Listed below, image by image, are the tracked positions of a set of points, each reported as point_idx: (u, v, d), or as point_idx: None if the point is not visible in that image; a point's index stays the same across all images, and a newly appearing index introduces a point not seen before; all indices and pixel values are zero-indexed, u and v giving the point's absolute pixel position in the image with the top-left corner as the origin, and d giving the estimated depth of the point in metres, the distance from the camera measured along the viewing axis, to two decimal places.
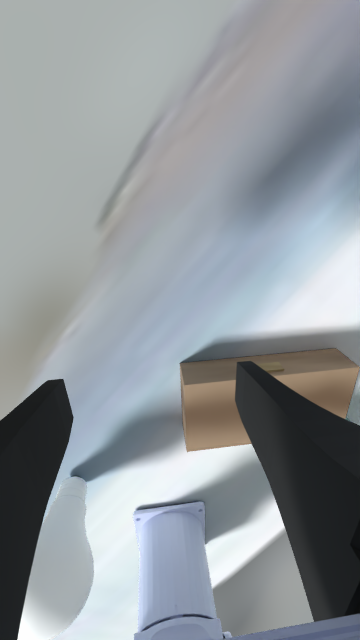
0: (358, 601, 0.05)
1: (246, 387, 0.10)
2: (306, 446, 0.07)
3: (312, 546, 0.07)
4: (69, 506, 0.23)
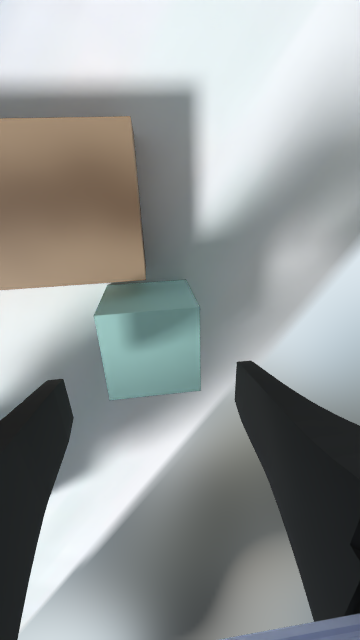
0: (357, 601, 0.05)
1: (246, 387, 0.10)
2: (306, 446, 0.07)
3: (312, 545, 0.07)
4: None
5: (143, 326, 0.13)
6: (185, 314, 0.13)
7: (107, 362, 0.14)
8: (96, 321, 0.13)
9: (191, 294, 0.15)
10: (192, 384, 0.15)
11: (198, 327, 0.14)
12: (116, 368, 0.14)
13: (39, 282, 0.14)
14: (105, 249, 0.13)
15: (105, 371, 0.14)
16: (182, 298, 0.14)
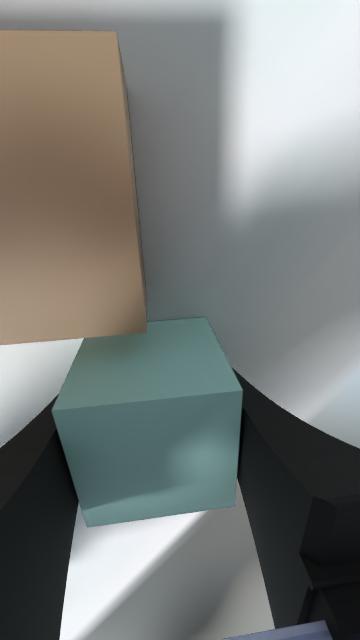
0: (309, 610, 0.05)
1: None
2: (265, 451, 0.06)
3: (272, 552, 0.07)
4: None
5: (141, 423, 0.07)
6: (216, 401, 0.07)
7: (80, 477, 0.08)
8: (56, 419, 0.07)
9: (221, 353, 0.09)
10: (222, 499, 0.09)
11: (238, 420, 0.08)
12: (96, 484, 0.08)
13: None
14: (76, 285, 0.08)
15: (77, 490, 0.08)
16: (207, 364, 0.09)
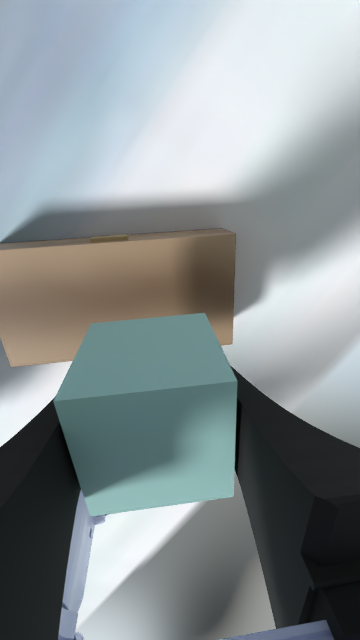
0: (310, 610, 0.05)
1: None
2: (266, 451, 0.06)
3: (273, 552, 0.07)
4: None
5: (140, 413, 0.08)
6: (212, 392, 0.08)
7: (82, 467, 0.08)
8: (58, 409, 0.07)
9: (218, 346, 0.09)
10: (221, 489, 0.09)
11: (233, 411, 0.08)
12: (97, 474, 0.08)
13: None
14: None
15: (80, 479, 0.08)
16: (204, 357, 0.09)
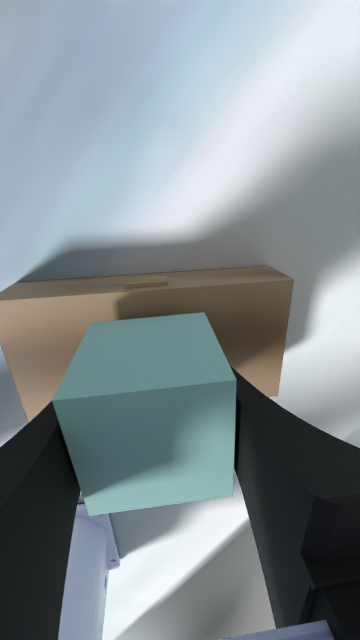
0: (310, 610, 0.05)
1: None
2: (266, 451, 0.06)
3: (273, 552, 0.07)
4: None
5: (139, 412, 0.08)
6: (211, 391, 0.08)
7: (81, 466, 0.08)
8: (57, 409, 0.07)
9: (217, 346, 0.09)
10: (220, 489, 0.09)
11: (233, 410, 0.08)
12: (97, 473, 0.08)
13: None
14: (249, 375, 0.15)
15: (79, 479, 0.08)
16: (203, 356, 0.09)
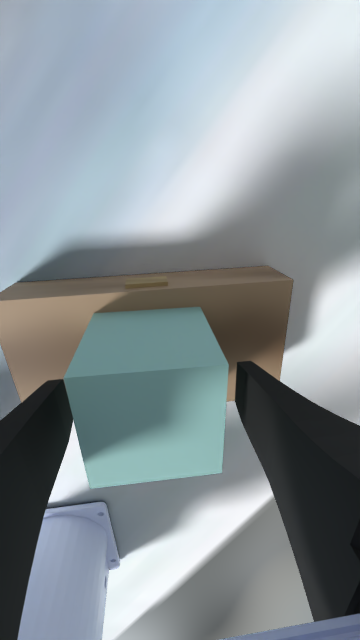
0: (358, 601, 0.05)
1: (246, 387, 0.10)
2: (306, 446, 0.07)
3: (312, 546, 0.07)
4: None
5: (140, 392, 0.09)
6: (206, 374, 0.09)
7: (86, 441, 0.09)
8: (67, 386, 0.08)
9: (211, 336, 0.10)
10: (210, 466, 0.10)
11: (224, 392, 0.09)
12: (99, 448, 0.09)
13: None
14: None
15: (83, 452, 0.09)
16: (199, 344, 0.10)
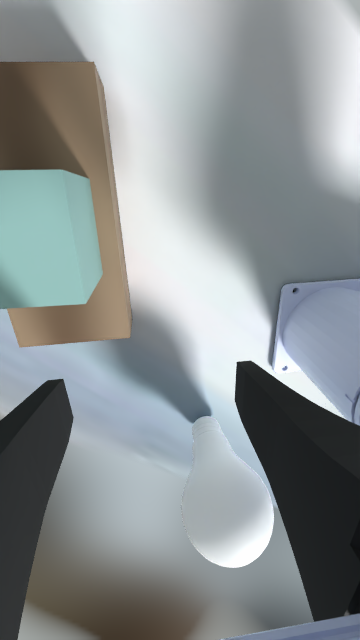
0: (357, 601, 0.05)
1: (246, 387, 0.10)
2: (306, 446, 0.07)
3: (312, 545, 0.07)
4: (194, 450, 0.22)
5: None
6: None
7: (24, 302, 0.11)
8: None
9: None
10: (50, 184, 0.10)
11: None
12: (32, 292, 0.11)
13: (106, 192, 0.14)
14: (64, 112, 0.13)
15: (39, 305, 0.11)
16: None
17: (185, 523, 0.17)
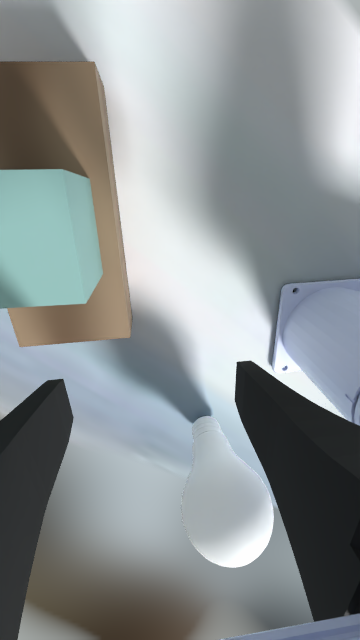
0: (358, 601, 0.05)
1: (246, 387, 0.10)
2: (306, 446, 0.07)
3: (312, 546, 0.07)
4: (194, 450, 0.22)
5: None
6: None
7: (25, 301, 0.11)
8: None
9: None
10: (50, 183, 0.10)
11: None
12: (32, 292, 0.11)
13: (106, 191, 0.14)
14: (64, 112, 0.13)
15: (39, 304, 0.11)
16: None
17: (185, 523, 0.17)
